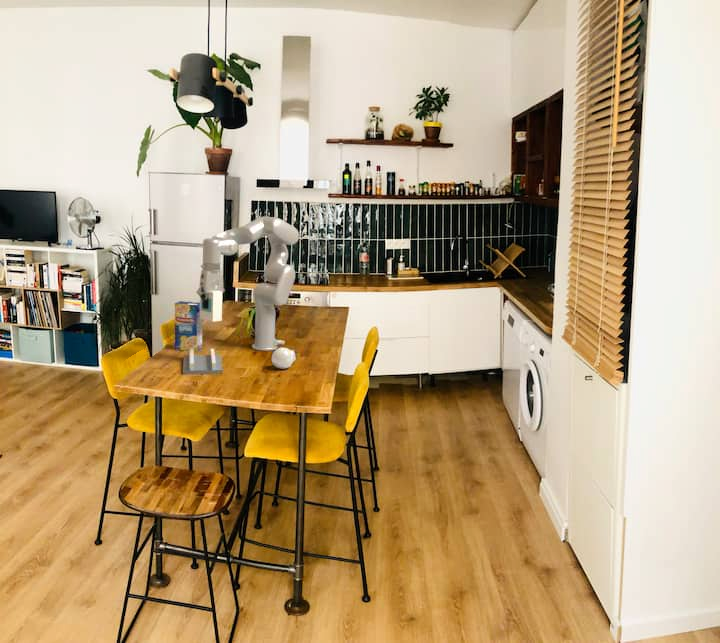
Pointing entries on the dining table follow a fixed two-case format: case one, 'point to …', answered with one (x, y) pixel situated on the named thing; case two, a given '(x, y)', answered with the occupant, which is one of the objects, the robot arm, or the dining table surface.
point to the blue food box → (188, 326)
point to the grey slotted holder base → (202, 363)
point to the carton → (212, 307)
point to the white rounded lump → (283, 357)
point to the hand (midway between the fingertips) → (210, 307)
